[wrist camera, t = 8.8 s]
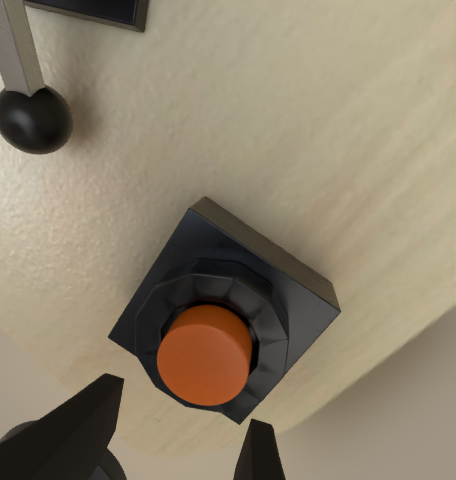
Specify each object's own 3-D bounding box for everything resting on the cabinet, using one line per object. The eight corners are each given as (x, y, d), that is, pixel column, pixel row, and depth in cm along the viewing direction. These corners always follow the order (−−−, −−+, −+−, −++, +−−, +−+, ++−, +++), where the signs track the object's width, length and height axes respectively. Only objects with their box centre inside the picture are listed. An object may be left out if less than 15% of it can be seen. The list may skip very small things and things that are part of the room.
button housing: (246, 383, 21) (235, 456, 16) (132, 308, 21) (87, 359, 16) (332, 283, 19) (348, 333, 14) (204, 195, 18) (177, 216, 14)
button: (222, 392, 16) (215, 422, 14) (155, 347, 16) (140, 372, 14) (269, 336, 15) (267, 361, 13) (197, 287, 15) (186, 306, 13)
